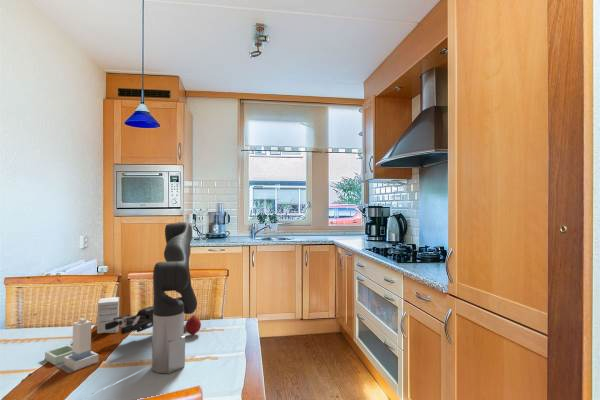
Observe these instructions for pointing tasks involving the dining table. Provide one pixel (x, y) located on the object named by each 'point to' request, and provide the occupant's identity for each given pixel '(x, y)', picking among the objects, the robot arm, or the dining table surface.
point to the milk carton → (81, 339)
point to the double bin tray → (69, 359)
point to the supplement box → (107, 313)
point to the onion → (193, 325)
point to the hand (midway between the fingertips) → (113, 329)
